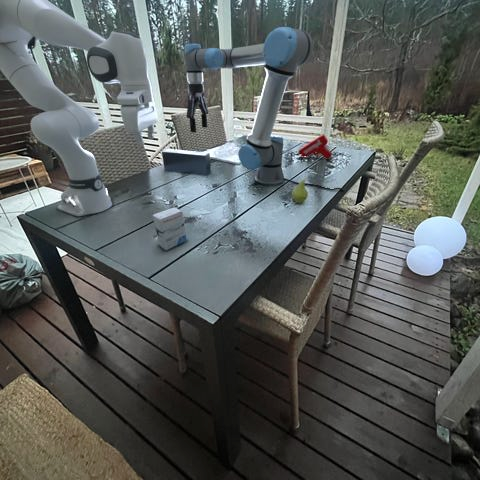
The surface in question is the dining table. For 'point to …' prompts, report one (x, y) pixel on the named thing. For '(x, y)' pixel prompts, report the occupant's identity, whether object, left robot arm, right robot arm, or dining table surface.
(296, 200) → the fruit
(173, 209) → the ink box
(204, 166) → the box
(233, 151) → the relief map
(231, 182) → the dining table surface
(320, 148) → the toy gun
